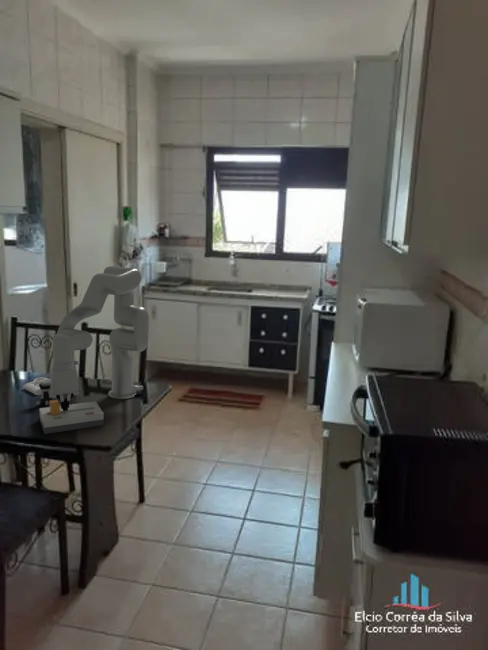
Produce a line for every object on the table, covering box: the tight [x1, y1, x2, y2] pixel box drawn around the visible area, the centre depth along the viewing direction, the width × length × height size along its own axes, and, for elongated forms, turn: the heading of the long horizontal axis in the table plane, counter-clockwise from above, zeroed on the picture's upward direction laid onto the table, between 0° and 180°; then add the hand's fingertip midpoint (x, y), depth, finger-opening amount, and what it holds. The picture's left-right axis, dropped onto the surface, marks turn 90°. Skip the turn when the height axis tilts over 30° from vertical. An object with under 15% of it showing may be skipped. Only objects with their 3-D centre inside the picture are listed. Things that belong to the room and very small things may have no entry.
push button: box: [36, 381, 53, 406], centre depth 216 cm, size 7×5×10 cm
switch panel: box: [39, 401, 105, 435], centre depth 201 cm, size 22×16×5 cm
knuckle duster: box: [22, 376, 51, 396], centre depth 235 cm, size 3×18×15 cm
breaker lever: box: [48, 399, 61, 415], centre depth 196 cm, size 3×5×6 cm, turn 29°
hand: (65, 409), depth 198 cm, fingers closed
